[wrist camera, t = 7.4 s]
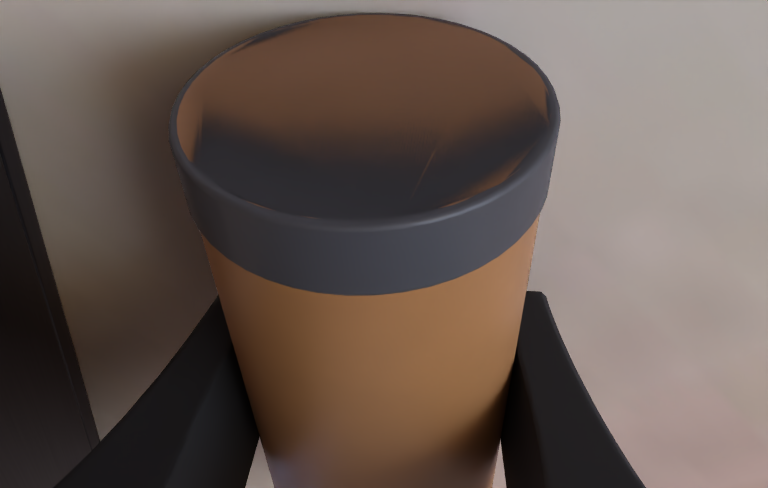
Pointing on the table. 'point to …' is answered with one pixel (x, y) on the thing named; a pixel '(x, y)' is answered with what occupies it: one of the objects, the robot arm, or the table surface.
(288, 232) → the tube
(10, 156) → the tray
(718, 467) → the table surface
